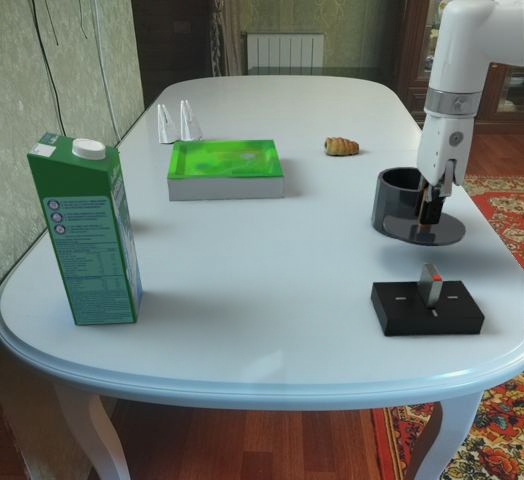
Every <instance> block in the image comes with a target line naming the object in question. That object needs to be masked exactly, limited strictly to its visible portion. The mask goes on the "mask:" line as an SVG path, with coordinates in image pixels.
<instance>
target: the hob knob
mask: <svg viewBox="0 0 524 480" xmlns="http://www.w3.org/2000/svg"><path fill="white" fill-rule="evenodd" d="M443 281H444V280H443V278H442V276H441V275H440V273H439V272H438V270H437V268H436V266H435V265H434V263H432V262H431V263H430V262H429V263H423V264H422V267H421V273H420V277H419V286H418V291H419V293H420V295H421V297H422V299H423V301H424V303H425V305H426V307H427V308H436V306H437V303H438V299H439V295H440V291H441V287H442V283H443Z"/></svg>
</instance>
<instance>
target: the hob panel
mask: <svg viewBox="0 0 524 480" xmlns="http://www.w3.org/2000/svg"><path fill="white" fill-rule="evenodd" d="M419 281H420V280H419ZM419 281H417V280H415V281H414V280H413V281H373V282H372V287H371V292H370V301H371V303H372V307H373V309H374V312H375V315H376V317H377V320H378V322H379V325H380V327H381V330H382V333H383V336H384V337H394V336H395V337H396V336H397V337H401V336H438V335H439V336H440V335H443V336H444V335H480V334H481V332H482V328H483V326H484V322H485V320H486V316H485V314H484V312H483V311H482V310H481V308H480V306H479V305H478V304H477V302H476V300H475V299H474V297H473V296H472V294H471V293H470V291H469V290H468V288H467V287H466V285H465V284H464V282H463V281H462V280H461V279H460V280H459V279H458V280H443V283H442V287H441V291H440V295H439V299H438V303H437V306H436V308H427V307H426V305H425V303H424V301H423V299H422V297H421V295H420V293H419V291H418V286H419Z"/></svg>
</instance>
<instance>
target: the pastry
mask: <svg viewBox="0 0 524 480" xmlns="http://www.w3.org/2000/svg"><path fill="white" fill-rule="evenodd" d="M323 148H324V149H323V151H324V153H325V154H327V155H329V156H336V155H338V156H350V155H349V154H352V155H355V154H358V153H359V152H360V144H359V143H358V142H356V141H354V140H352V141H351V140H350V139H348V138H343V137H341V136H338V137H335V136H333V137H326V138H325V140H324V144H323Z"/></svg>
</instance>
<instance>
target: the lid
mask: <svg viewBox="0 0 524 480" xmlns="http://www.w3.org/2000/svg"><path fill="white" fill-rule="evenodd" d="M435 190H436V188H434V191H435ZM427 192H428V188H426V189H425V190H424V195H423V199H422V204H421V209H420V213H419V216H415V215H414V210H415V208H410V209H401V210H397V211H394V212H392V213H390V214H388V215H387V216H386V217H385V219H384V223H383V224H384V228H385V230H386V231H387V232H388V233H389V234H390V235H392V236H393V237H395V238H394V239H396V238H397V240H399V241H402V242H404V243H408V244H411V245H416V246H421V247H447V246H451V245H455V244H457V243H459V242H461V241H462V240H464V238H465V236H466V233H467V228H466V226H465V224H464V223H463V222H462V221H461V220H459V219H458V218H457V217H455V216H453V215H451V214H448V213H446V212H443V211H442V212H441V216H440V220H439V223H438V224H434V225H421V224H420V223H419V220H420V215H421V210H422V206H423V201H424V200H426V197H427Z"/></svg>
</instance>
